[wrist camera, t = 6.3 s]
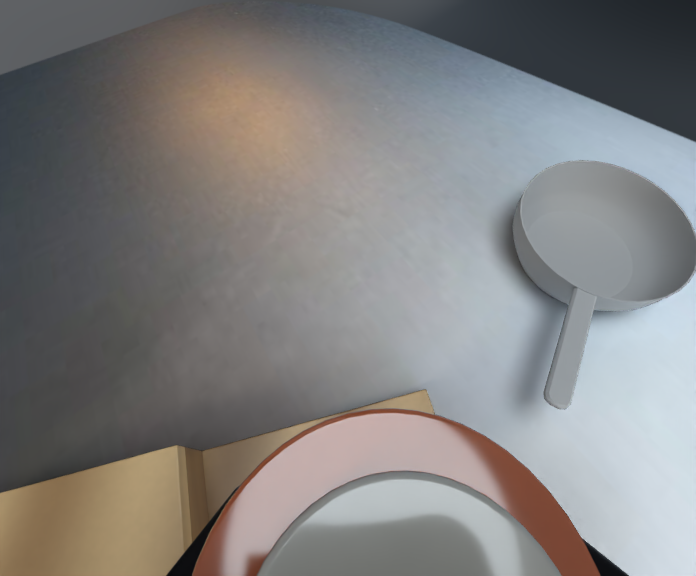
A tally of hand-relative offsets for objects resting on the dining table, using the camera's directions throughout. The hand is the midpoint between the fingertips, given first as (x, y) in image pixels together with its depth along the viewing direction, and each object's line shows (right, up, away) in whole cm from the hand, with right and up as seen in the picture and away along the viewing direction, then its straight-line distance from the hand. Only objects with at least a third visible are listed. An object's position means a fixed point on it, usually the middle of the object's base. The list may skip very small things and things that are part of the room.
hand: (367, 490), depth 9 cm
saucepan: (+14, +4, +17) cm, 23 cm away
